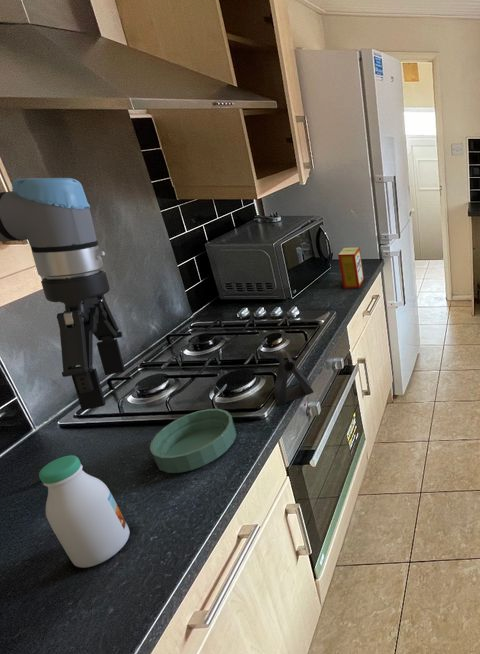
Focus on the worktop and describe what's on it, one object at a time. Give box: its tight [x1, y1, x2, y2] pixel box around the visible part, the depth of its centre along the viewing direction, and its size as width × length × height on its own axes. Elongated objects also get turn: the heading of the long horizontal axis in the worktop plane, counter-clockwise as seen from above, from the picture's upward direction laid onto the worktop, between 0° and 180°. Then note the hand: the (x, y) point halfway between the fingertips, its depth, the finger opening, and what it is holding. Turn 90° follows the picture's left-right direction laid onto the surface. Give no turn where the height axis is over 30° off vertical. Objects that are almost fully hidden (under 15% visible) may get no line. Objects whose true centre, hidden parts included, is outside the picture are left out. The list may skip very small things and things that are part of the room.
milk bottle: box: [38, 455, 131, 569], centre depth 72 cm, size 8×8×20 cm
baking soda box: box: [337, 246, 365, 290], centre depth 182 cm, size 10×6×16 cm
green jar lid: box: [149, 408, 237, 474], centre depth 96 cm, size 15×15×5 cm
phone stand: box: [273, 351, 314, 406], centre depth 113 cm, size 9×6×12 cm, turn 127°
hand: (105, 388), depth 74 cm, fingers open, 13 cm apart
